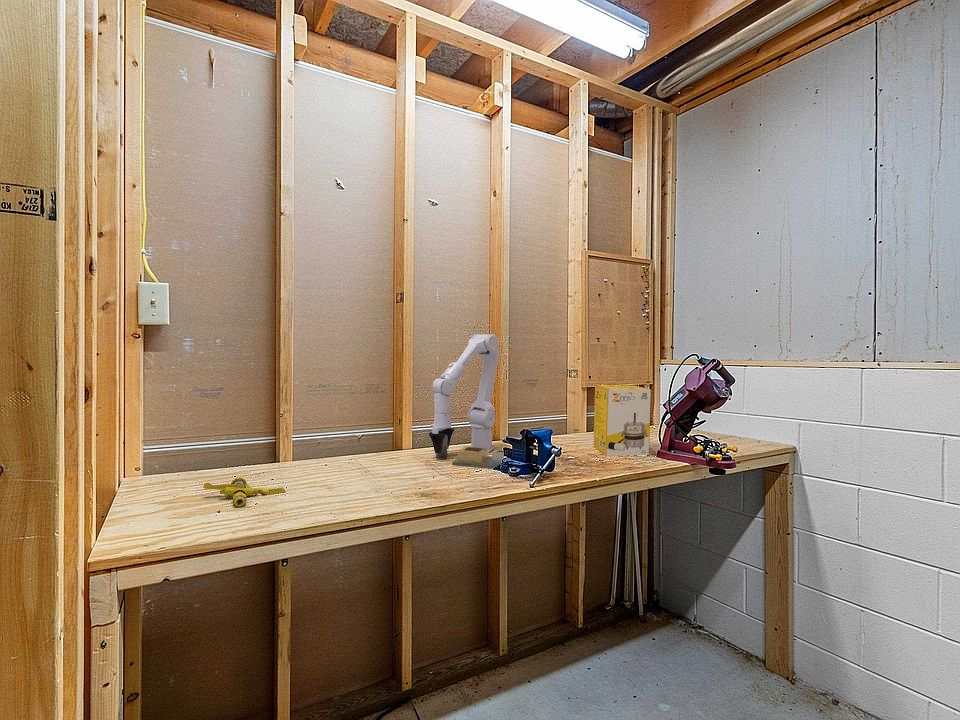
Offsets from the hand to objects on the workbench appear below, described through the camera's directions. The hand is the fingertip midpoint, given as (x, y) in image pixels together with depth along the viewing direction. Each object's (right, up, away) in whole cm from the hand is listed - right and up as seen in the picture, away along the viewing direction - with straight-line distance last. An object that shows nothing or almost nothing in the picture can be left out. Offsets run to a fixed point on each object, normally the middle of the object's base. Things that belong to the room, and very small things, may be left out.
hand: (441, 450), depth 177 cm
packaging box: (+68, -4, +17) cm, 70 cm away
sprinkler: (-46, -4, -49) cm, 68 cm away
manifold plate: (+15, -3, -7) cm, 16 cm away
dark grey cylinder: (0, -2, 0) cm, 2 cm away
